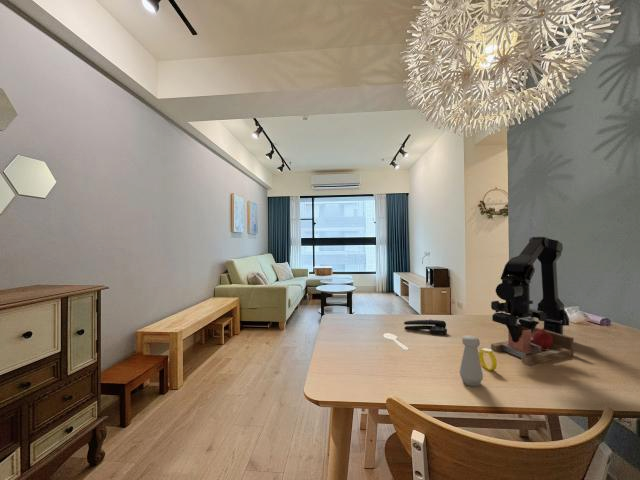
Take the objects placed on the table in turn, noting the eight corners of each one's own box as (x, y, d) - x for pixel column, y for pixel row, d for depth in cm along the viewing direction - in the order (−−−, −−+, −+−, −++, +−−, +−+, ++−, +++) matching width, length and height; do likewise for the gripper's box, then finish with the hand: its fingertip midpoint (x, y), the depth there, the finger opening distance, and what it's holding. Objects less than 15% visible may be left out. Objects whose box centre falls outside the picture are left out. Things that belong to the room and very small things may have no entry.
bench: (533, 341, 106) (533, 326, 106) (573, 355, 94) (573, 337, 94) (491, 349, 100) (490, 332, 100) (527, 364, 87) (527, 346, 87)
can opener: (446, 331, 120) (446, 318, 120) (447, 336, 113) (447, 323, 113) (404, 326, 127) (404, 314, 127) (403, 331, 120) (403, 318, 120)
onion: (557, 353, 95) (557, 331, 95) (538, 352, 96) (538, 330, 96) (547, 347, 101) (546, 325, 101) (529, 346, 102) (529, 324, 102)
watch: (477, 365, 88) (475, 346, 88) (484, 364, 88) (483, 345, 89) (491, 373, 82) (490, 352, 82) (499, 372, 82) (498, 352, 83)
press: (516, 347, 100) (516, 323, 100) (541, 356, 92) (540, 330, 92) (501, 350, 98) (501, 325, 98) (525, 359, 90) (525, 332, 90)
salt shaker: (455, 377, 80) (454, 333, 80) (473, 376, 80) (473, 332, 80) (467, 388, 74) (467, 340, 74) (487, 387, 74) (487, 340, 74)
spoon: (400, 351, 99) (400, 350, 99) (380, 334, 117) (380, 333, 117) (413, 350, 100) (413, 348, 100) (392, 333, 118) (392, 332, 118)
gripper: (515, 290, 106) (516, 330, 106) (478, 294, 100) (479, 336, 100) (547, 296, 95) (547, 341, 95) (508, 300, 89) (508, 348, 89)
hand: (519, 341), depth 95 cm, fingers closed on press, 4 cm apart
